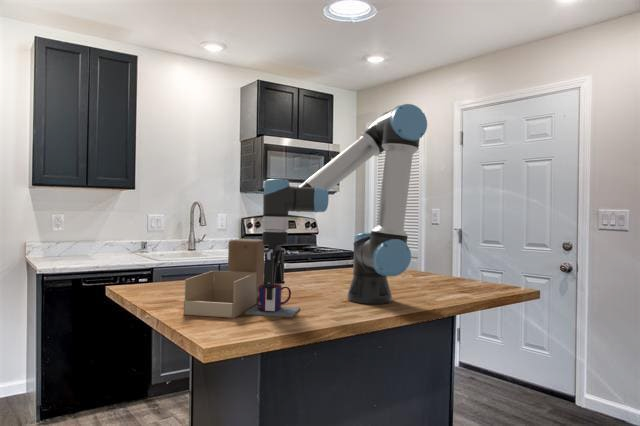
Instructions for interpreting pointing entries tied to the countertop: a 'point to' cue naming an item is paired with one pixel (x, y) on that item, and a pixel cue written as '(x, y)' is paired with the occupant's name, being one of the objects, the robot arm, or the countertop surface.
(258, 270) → the wooden block
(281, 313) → the mat
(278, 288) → the mug
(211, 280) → the carton
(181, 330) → the countertop surface
